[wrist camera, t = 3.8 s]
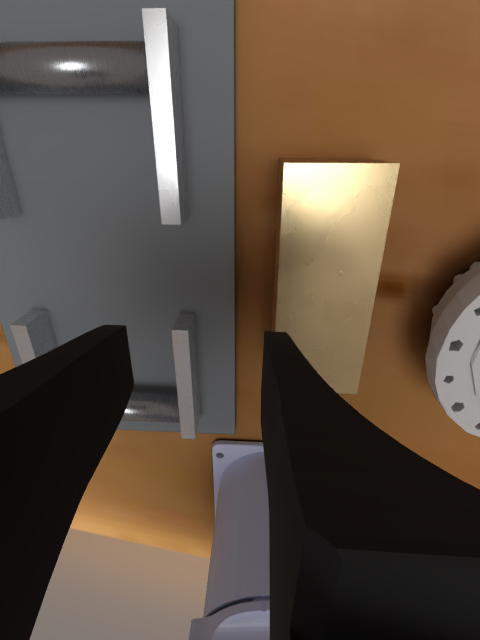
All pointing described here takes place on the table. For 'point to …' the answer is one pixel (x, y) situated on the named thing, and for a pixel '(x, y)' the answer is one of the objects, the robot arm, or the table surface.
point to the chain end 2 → (152, 407)
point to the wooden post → (330, 259)
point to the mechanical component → (457, 351)
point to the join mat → (126, 201)
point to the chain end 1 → (109, 78)
